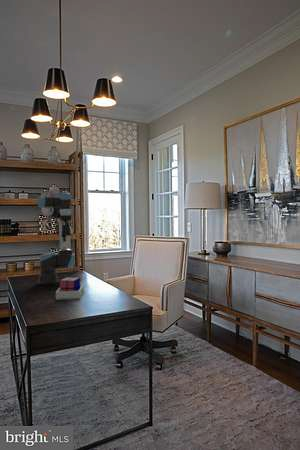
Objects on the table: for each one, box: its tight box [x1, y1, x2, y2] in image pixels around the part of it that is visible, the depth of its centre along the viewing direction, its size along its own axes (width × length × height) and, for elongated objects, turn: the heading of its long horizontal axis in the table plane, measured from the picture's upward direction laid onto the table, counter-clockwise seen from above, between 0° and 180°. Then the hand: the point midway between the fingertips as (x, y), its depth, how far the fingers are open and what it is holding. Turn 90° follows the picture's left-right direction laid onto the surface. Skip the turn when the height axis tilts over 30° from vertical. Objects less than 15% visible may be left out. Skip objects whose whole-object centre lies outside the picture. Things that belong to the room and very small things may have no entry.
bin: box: [55, 284, 85, 301], centre depth 218 cm, size 19×15×5 cm
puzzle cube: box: [59, 277, 81, 291], centre depth 218 cm, size 10×10×10 cm
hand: (66, 245), depth 233 cm, fingers open, 13 cm apart
